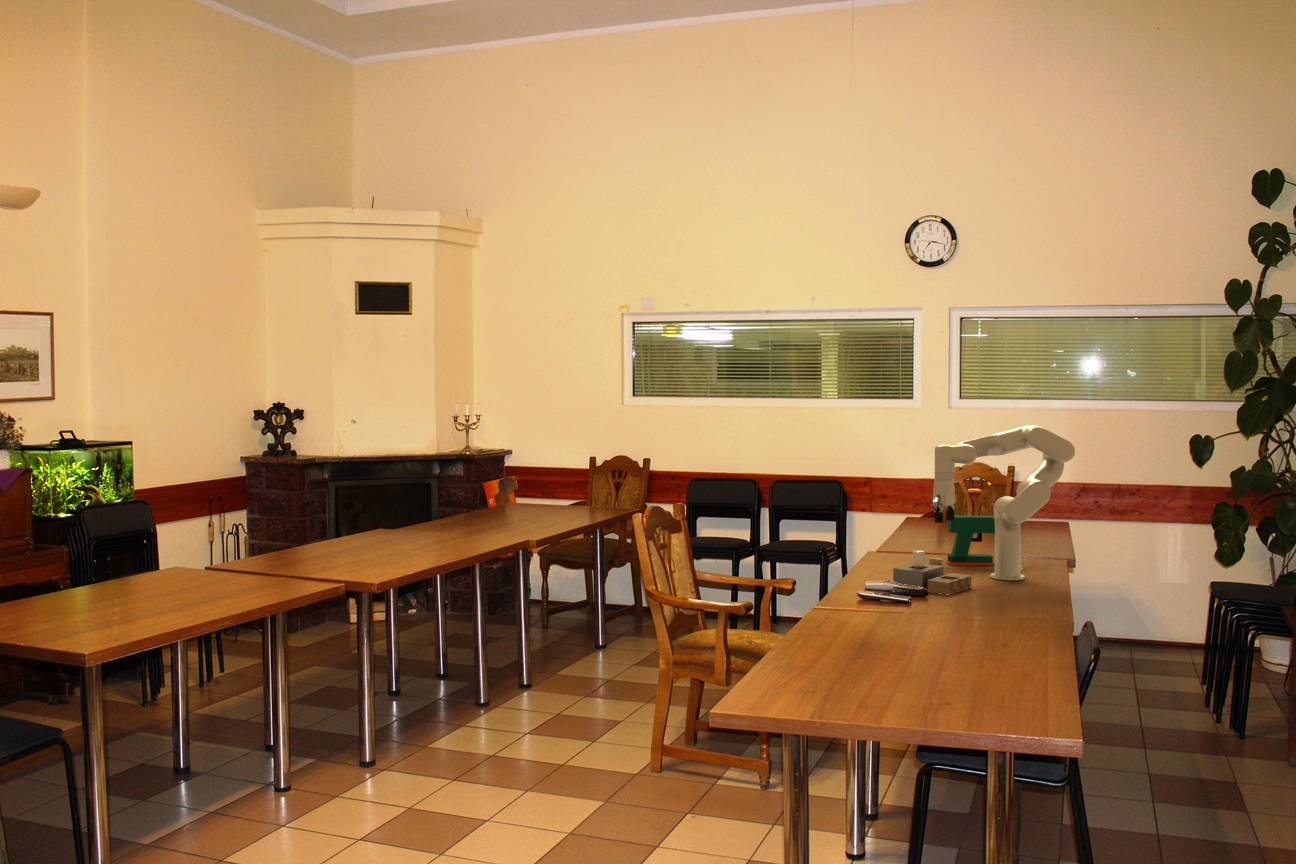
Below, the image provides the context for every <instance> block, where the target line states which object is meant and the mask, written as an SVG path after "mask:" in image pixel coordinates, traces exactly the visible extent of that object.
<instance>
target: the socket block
mask: <svg viewBox="0 0 1296 864" xmlns="http://www.w3.org/2000/svg"><path fill="white" fill-rule="evenodd" d="M944 570H945V569H944V565H943V566H937V565H929V564H927V563H925V568H924V569H917V568H913V562H912V563H908V564H904V565H900V566H895V567H894V568H893V571H892V574H893V575H892V576H893V577H892V581H895V582H898V583H902V584H908V585H916V586H920V587H924V588H926V589H928V580H930V579H933V578H937V577H940V576H944V575H945V574H944Z"/></svg>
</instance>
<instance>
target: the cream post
mask: <svg viewBox="0 0 1296 864" xmlns="http://www.w3.org/2000/svg"><path fill="white" fill-rule="evenodd" d="M925 561H926V551H925V550H917V549H916V550H912V563H913V568H917V569H924V568H925V564H926V562H925Z"/></svg>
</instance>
